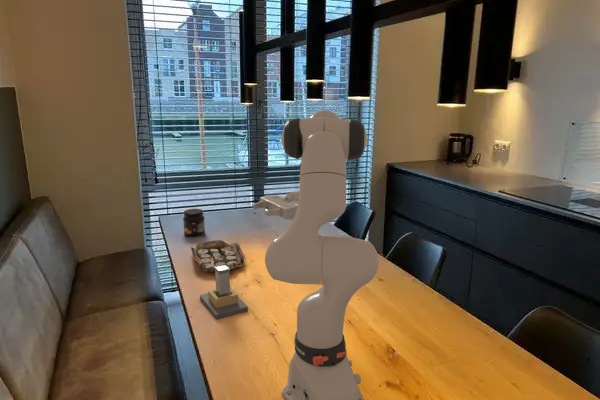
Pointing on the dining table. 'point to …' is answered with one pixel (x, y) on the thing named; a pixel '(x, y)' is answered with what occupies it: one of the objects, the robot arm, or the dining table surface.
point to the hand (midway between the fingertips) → (259, 209)
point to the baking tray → (217, 255)
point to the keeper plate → (223, 304)
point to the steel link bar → (222, 281)
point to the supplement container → (194, 222)
